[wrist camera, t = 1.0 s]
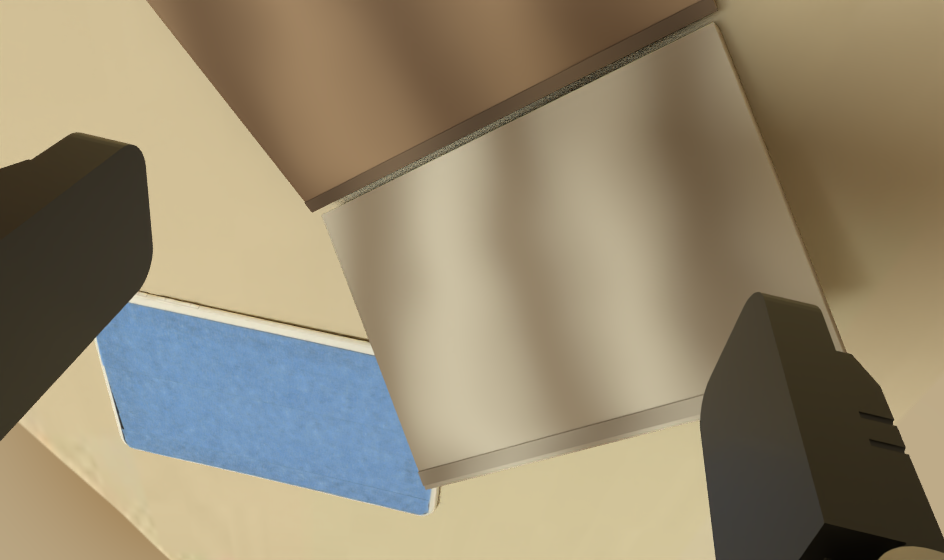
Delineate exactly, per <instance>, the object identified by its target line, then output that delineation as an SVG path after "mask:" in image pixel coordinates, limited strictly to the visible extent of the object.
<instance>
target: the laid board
mask: <svg viewBox="0 0 944 560" xmlns="http://www.w3.org/2000/svg"><path fill="white" fill-rule="evenodd" d="M146 1H147V2H148V3H149V4H150V6H151V7H152V8H153V9H154V11H155V12H156V13H157V15H158V16H159V17H160V18H161V20H162V21H163V22H164V23H165V25H166V26H167V27H168V28H169V30H170V31H171V32H172V34H173V35H174V36H175V37H176V39H177V40H178V41H179V42H180V44H181V45H182V46H183V48H184V49H185V50H186V51H187V53H188V54H189V55H190V56H191V58H192V59H193V60H194V62H195V63H196V64H197V65H198V67H199V68H200V69H201V70H202V72H203V73H204V74H205V76H206V77H207V78H208V79H209V81H210V82H211V83H212V84H213V86H214V87H215V88H216V89H217V91H218V92H219V93H220V95H221V96H222V97H223V98H224V100H225V101H226V102H227V103H228V105H229V106H230V107H231V109H232V110H233V111H234V112H235V114H236V115H237V116H238V117H239V119H240V120H241V121H242V123H243V124H244V125H245V126H246V128H247V129H248V130H249V131H250V133H251V134H252V135H253V137H254V138H255V139H256V140H257V142H258V143H259V144H260V145H261V147H262V148H263V149H264V150H265V152H266V153H267V154H268V156H269V157H270V158H271V159H272V161H273V162H274V163H275V164H276V166H277V167H278V168H279V170H280V171H281V172H282V173H283V175H284V176H285V177H286V178H287V180H288V181H289V182H290V184H291V185H292V186H293V187H294V189H295V190H296V191H297V192H298V194H299V195H300V196H301V198H302V199H303V200H304V201H305V204H306V206H307V207H308V208H309V209H310V211H311V212H314V211H316V210H318V209H320V208H322V207H324V206H326V205H328V204H330V203H332V202H334V201H336V200H338V199H340V198H342V197H344V196H346V195H348V194H350V193H352V192H354V191H356V190H358V189H360V188H362V187H364V186H366V185H368V184H370V183H372V182H374V181H376V180H378V179H380V178H382V177H384V176H386V175H388V174H390V173H392V172H394V171H396V170H398V169H400V168H402V167H404V166H406V165H408V164H410V163H412V162H414V161H416V160H418V159H420V158H422V157H424V156H426V155H428V154H430V153H432V152H434V151H436V150H438V149H440V148H442V147H444V146H446V145H448V144H451V143H453V142H455V141H457V140H459V139H461V138H463V137H465V136H467V135H469V134H471V133H473V132H475V131H477V130H479V129H481V128H483V127H485V126H487V125H489V124H491V123H493V122H495V121H497V120H499V119H501V118H503V117H505V116H507V115H509V114H511V113H513V112H515V111H517V110H519V109H521V108H523V107H525V106H527V105H529V104H531V103H533V102H535V101H537V100H539V99H541V98H543V97H545V96H547V95H549V94H551V93H553V92H555V91H557V90H559V89H561V88H563V87H565V86H567V85H569V84H571V83H573V82H575V81H577V80H579V79H581V78H583V77H585V76H587V75H589V74H591V73H593V72H595V71H597V70H599V69H601V68H603V67H605V66H607V65H609V64H611V63H613V62H615V61H617V60H619V59H621V58H623V57H625V56H627V55H629V54H631V53H633V52H635V51H637V50H639V49H641V48H643V47H645V46H647V45H649V44H651V43H653V42H655V41H657V40H659V39H661V38H663V37H665V36H667V35H669V34H671V33H673V32H675V31H677V30H679V29H681V28H683V27H685V26H687V25H689V24H691V23H693V22H695V21H697V20H699V19H701V18H703V17H705V16H707V15H709V14H711V13H713V12H715V11H717V5H716V0H146Z"/></svg>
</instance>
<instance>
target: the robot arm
mask: <svg viewBox="0 0 944 560" xmlns="http://www.w3.org/2000/svg"><path fill="white" fill-rule="evenodd" d="M152 254H153V243H152V232H151V220H150V209H149V197H148V186H147V175H146V165H145V160H144V156H143V154H142V152H141V150H140V149H139V148H138V147H137V146H134V145H131V144H127V143H123V142H118V141H114V140H110V139H105V138H101V137H97V136H93V135H88V134H84V133H77V132H76V133H72V134H70V135H68V136H66V137H65V138H63V139H62V140H60V141H59V142H57V143H56V144H54V145H53V146H51V147H50V148H48V149H47V150H45V151H44V152H42V153H41V154H39V155H38V156H36V157H35V158H33V159H32V160H26V161H22V162H19V163H16V164H13V165H10V166H7V167H4V168H1V169H0V441H1V440H2V439H3V438H4V436H5V435H6V434H7V433H8V432H9V431H10V430H11V429H12V428H13V427H14V426H15V425H16V423H17V422H18V421H19V420H20V419H21V418H22V417H23V416H24V415H25V414H26V413H27V412H28V410H29V409H30V408H31V407H32V406H33V405H34V404H35V403H36V402H37V401H38V400H39V399H40V397H41V396H42V395H43V394H44V393H45V392H46V391H47V390H48V389H49V388H50V387H51V386H52V384H53V383H54V382H55V381H56V380H57V379H58V378H59V377H60V376H61V375H62V374H63V373H64V371H65V370H66V369H67V368H68V367H69V366H70V365H71V364H72V363H73V362H74V361H75V359H76V358H77V357H78V356H79V355H80V354H81V353H82V352H83V351H84V350H85V349H86V348H87V346H88V345H89V344H90V343H91V342H92V341H93V340H94V339H95V338H96V337H97V336H98V335H99V333H100V332H101V331H102V330H103V329H104V328H105V327H106V326H107V325H108V324H109V323H110V322H111V320H112V319H113V318H114V317H115V316H116V315H117V314H118V313H119V312H120V311H121V310H122V309H123V307H124V306H125V305H126V304H127V303H128V302H129V301H130V300H131V299H132V298H133V297H134V296H135V294H136V293H137V292H138V291H139V290H140V288H141V287H142V285H143V283H144V282H145V280H146V277H147V275H148V272H149V269H150V265H151V261H152ZM893 421H894V418H893V416H892V413H891V411H890V409H889V406H888V404H887V402H886V399H885V397H884V394H883V392H882V390H881V387H880V386H879V385H878V383H877V382H876V381H875V380H874V379H873V378H872V377H871V376H870V374H869V373H868V372H867V371H866V370H865V369H864V368H863V367H862V365H861V364H860V363H859V362H858V361H857V360H856V359H855V358H854V356H853V355H852V354H849V353H844V352H840V351H836V349H835V346H834V343H833V341H832V338H831V335H830V333H829V330H828V327H827V325H826V322H825V319H824V316H823V314H822V311H821V309H820V308H819V307H818V306H816V305H813V304H809V303H804V302H800V301H796V300H791V299H787V298H783V297H778V296H774V295H770V294H766V293H761V292H755V293H753V294H752V295H751V296H750V297H749V299H748V300H747V302H746V303H745V305H744V307H743V309H742V311H741V313H740V315H739V317H738V319H737V322H736V324H735V326H734V328H733V330H732V332H731V334H730V336H729V338H728V341H727V343H726V345H725V347H724V349H723V351H722V353H721V355H720V357H719V360H718V362H717V364H716V366H715V368H714V370H713V372H712V374H711V376H710V379H709V381H708V383H707V386H706V389H705V392H704V396H703V400H702V406H701V413H700V431H701V439H702V448H703V456H704V464H705V473H706V481H707V490H708V498H709V506H710V515H711V523H712V531H713V540H714V548H715V556H716V560H944V538H943V536H942V533H941V531H940V528H939V526H938V523H937V521H936V519H935V517H934V514H933V511H932V509H931V507H930V504H929V502H928V499H927V497H926V495H925V492H924V490H923V488H922V485H921V483H920V480H919V478H918V476H917V473H916V471H915V468H914V466H913V464H912V461H911V459H910V457H909V455H908V454H905V453H904V451H905V445H904V442H903V440H902V438H901V435H900V433H899V430H898V428H897V426H894V425H893Z"/></svg>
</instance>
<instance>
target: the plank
mask: <svg viewBox="0 0 944 560" xmlns="http://www.w3.org/2000/svg"><path fill="white" fill-rule="evenodd" d="M322 217H323V220H324V223H325V225H326V228H327V231H328V233H329V236H330V239H331V241H332V244H333V246H334V249H335V252H336V254H337V257H338V260H339V262H340V265H341V268H342V270H343V273H344V276H345V278H346V281H347V283H348V286H349V289H350V291H351V294H352V297H353V299H354V302H355V305H356V307H357V310H358V312H359V315H360V318H361V320H362V323H363V326H364V328H365V331H366V334H367V336H368V339H369V342H370V344H371V347H372V349H373V352H374V355H375V357H376V360H377V363H378V365H379V368H380V371H381V373H382V376H383V378H384V381H385V384H386V386H387V389H388V392H389V394H390V397H391V400H392V402H393V405H394V408H395V410H396V413H397V415H398V418H399V421H400V423H401V426H402V429H403V431H404V434H405V437H406V439H407V442H408V444H409V447H410V450H411V452H412V455H413V458H414V460H415V463H416V466H417V468H418V471H419V472H418V474H419V476H420V479H421V482H422V484H423V486H424V487H425V489H426V490H428V489H432V488H436V487H440V486H444V485H448V484H451V483H455V482H459V481H463V480H467V479H471V478H475V477H479V476H483V475H487V474H491V473H494V472H498V471H502V470H506V469H510V468H514V467H518V466H522V465H526V464H530V463H534V462H537V461H541V460H545V459H549V458H553V457H557V456H561V455H565V454H569V453H573V452H577V451H580V450H584V449H588V448H592V447H596V446H600V445H604V444H608V443H612V442H616V441H620V440H623V439H627V438H631V437H635V436H639V435H643V434H647V433H651V432H655V431H659V430H663V429H666V428H670V427H674V426H678V425H682V424H686V423H690V422H694V421H698V420H700V413H701V406H702V400H703V396H704V392H705V389H706V386H707V383H708V381H709V379H710V376H711V374H712V372H713V370H714V368H715V366H716V364H717V362H718V360H719V357H720V355H721V353H722V351H723V349H724V347H725V345H726V343H727V341H728V338H729V336H730V334H731V332H732V330H733V328H734V326H735V324H736V322H737V319H738V317H739V315H740V313H741V311H742V309H743V307H744V305H745V303H746V302H747V300H748V299H749V297H750V296H751V295H752V294H753V293H755V292H761V293H766V294H770V295H774V296H778V297H783V298H787V299H791V300H796V301H800V302H804V303H809V304H813V305H816V306H818V307H819V308H820V309H821V311H822V314H823V316H824V319H825V322H826V325H827V327H828V330H829V333H830V335H831V338H832V341H833V343H834V346H835V349H836V351H840V352H844V353H847V352H846V349H845V347H844V344H843V342H842V339H841V336H840V334H839V331H838V329H837V326H836V324H835V321H834V319H833V316H832V314H831V311H830V309H829V306H828V303H827V301H826V298H825V296H824V293H823V291H822V288H821V286H820V283H819V281H818V278H817V275H816V273H815V270H814V268H813V265H812V263H811V260H810V258H809V255H808V253H807V250H806V247H805V245H804V242H803V240H802V237H801V235H800V232H799V230H798V227H797V225H796V222H795V220H794V217H793V214H792V212H791V209H790V207H789V204H788V202H787V199H786V197H785V194H784V192H783V189H782V186H781V184H780V181H779V179H778V176H777V174H776V171H775V169H774V166H773V164H772V161H771V159H770V156H769V153H768V151H767V148H766V146H765V143H764V141H763V138H762V136H761V133H760V131H759V128H758V125H757V123H756V120H755V118H754V115H753V113H752V110H751V108H750V105H749V103H748V100H747V98H746V95H745V92H744V90H743V87H742V85H741V82H740V80H739V77H738V75H737V72H736V70H735V67H734V64H733V62H732V59H731V57H730V54H729V52H728V49H727V47H726V44H725V42H724V39H723V37H722V34H721V31H720V29H719V28H718V27H717V26H716V24H715V23H714V22H712V23H710V24H708V25H706V26H704V27H702V28H700V29H698V30H696V31H694V32H692V33H690V34H688V35H686V36H684V37H682V38H680V39H678V40H676V41H674V42H672V43H670V44H668V45H666V46H664V47H662V48H660V49H657V50H655V51H653V52H651V53H649V54H647V55H645V56H643V57H641V58H639V59H637V60H635V61H633V62H631V63H629V64H627V65H625V66H623V67H621V68H619V69H617V70H615V71H613V72H611V73H609V74H607V75H605V76H603V77H601V78H599V79H597V80H595V81H593V82H591V83H589V84H586V85H584V86H582V87H580V88H578V89H576V90H574V91H572V92H570V93H568V94H566V95H564V96H562V97H560V98H558V99H556V100H554V101H552V102H550V103H548V104H546V105H544V106H542V107H540V108H538V109H536V110H534V111H532V112H530V113H528V114H526V115H524V116H522V117H520V118H518V119H516V120H513V121H511V122H509V123H507V124H505V125H503V126H501V127H499V128H497V129H495V130H493V131H491V132H489V133H487V134H485V135H483V136H481V137H479V138H477V139H475V140H473V141H471V142H469V143H467V144H465V145H463V146H461V147H459V148H457V149H455V150H453V151H451V152H449V153H447V154H445V155H443V156H440V157H438V158H436V159H434V160H432V161H430V162H428V163H426V164H424V165H422V166H420V167H418V168H416V169H414V170H412V171H410V172H408V173H406V174H404V175H402V176H400V177H398V178H396V179H394V180H392V181H390V182H388V183H386V184H384V185H382V186H380V187H378V188H376V189H374V190H372V191H370V192H367V193H365V194H363V195H361V196H359V197H357V198H355V199H353V200H351V201H349V202H347V203H345V204H343V205H341V206H339V207H337V208H335V209H333V210H331V211H329V212H327V213H325V214H323V215H322Z"/></svg>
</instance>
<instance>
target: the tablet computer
mask: <svg viewBox="0 0 944 560" xmlns="http://www.w3.org/2000/svg"><path fill="white" fill-rule="evenodd" d="M94 341H95V344H96V348H97V352H98V355H99V359H100V363H101V366H102V370H103V374H104V378H105V381H106V385H107V389H108V393H109V396H110V400H111V404H112V407H113V412H114V415H115V418H116V422H117V426H118V430H119V434H120V437H121V439H122V441H123V442H124V443H125V444H127V445H128V446H129V447H131V448H134V449H136V450H141V451H145V452H149V453H154V454H158V455H162V456H166V457H171V458H175V459H179V460H183V461H188V462H192V463H197V464H201V465H206V466H210V467H215V468H219V469H223V470H228V471H232V472H236V473H241V474H245V475H249V476H254V477H258V478H262V479H267V480H271V481H275V482H279V483H284V484H288V485H292V486H297V487H301V488H305V489H309V490H313V491H317V492H322V493H326V494H330V495H334V496H338V497H342V498H346V499H351V500H355V501H359V502H363V503H368V504H372V505H376V506H380V507H385V508H389V509H393V510H397V511H401V512H406V513H410V514H414V515H418V516H427V515H430V514H432V513H433V512H434V510H435V508H436V506H437V503H438V496H439V488H440V487H436V488H432V489H428V490H426V489H425V487H424V486H423V484H422V482H421V479H420V476H419V474H418V472H419V471H418V468H417V466H416V463H415V460H414V458H413V455H412V452H411V450H410V447H409V444H408V442H407V439H406V437H405V434H404V431H403V429H402V426H401V423H400V421H399V418H398V415H397V413H396V410H395V408H394V405H393V402H392V400H391V397H390V394H389V392H388V389H387V386H386V384H385V381H384V378H383V376H382V373H381V371H380V368H379V365H378V363H377V360H376V357H375V355H374V352H373V349H372V347H371V344H370V342H367V341H362V340H357V339H352V338H347V337H343V336H338V335H334V334H329V333H324V332H320V331H315V330H311V329H306V328H301V327H297V326H292V325H287V324H283V323H278V322H273V321H269V320H264V319H260V318H255V317H251V316H246V315H241V314H237V313H232V312H228V311H223V310H219V309H214V308H209V307H205V306H200V305H196V304H192V303H187V302H182V301H177V300H174V299H170V298H165V297H161V296H156V295H152V294H147V293H144V292H140V291H138V292H137V293H136V294H135V296H134V297H133V298H132V299H131V300H130V301H129V302H128V303H127V304H126V305H125V306H124V307H123V309H122V310H121V311H120V312H119V313H118V314H117V315H116V316H115V317H114V318H113V319H112V320H111V322H110V323H109V324H108V325H107V326H106V327H105V328H104V329H103V330H102V331H101V332H100V333H99V335H98V336H97V337H96V338H95V339H94Z"/></svg>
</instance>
